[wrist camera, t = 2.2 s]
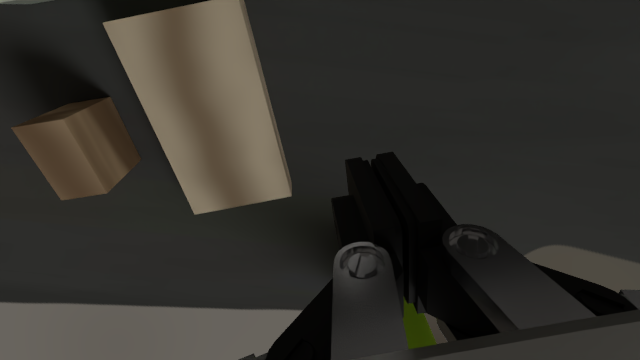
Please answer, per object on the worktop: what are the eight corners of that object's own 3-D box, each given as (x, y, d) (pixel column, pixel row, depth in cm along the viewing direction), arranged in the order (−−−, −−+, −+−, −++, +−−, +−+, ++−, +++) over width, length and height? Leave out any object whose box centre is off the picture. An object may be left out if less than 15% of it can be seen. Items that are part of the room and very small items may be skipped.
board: (243, -4, 19) (237, -6, 17) (291, 180, 26) (291, 196, 24) (123, 21, 20) (102, 22, 17) (202, 197, 27) (194, 214, 24)
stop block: (110, 96, 21) (63, 119, 17) (141, 159, 24) (107, 193, 19) (68, 103, 21) (11, 127, 17) (104, 165, 24) (61, 200, 20)
